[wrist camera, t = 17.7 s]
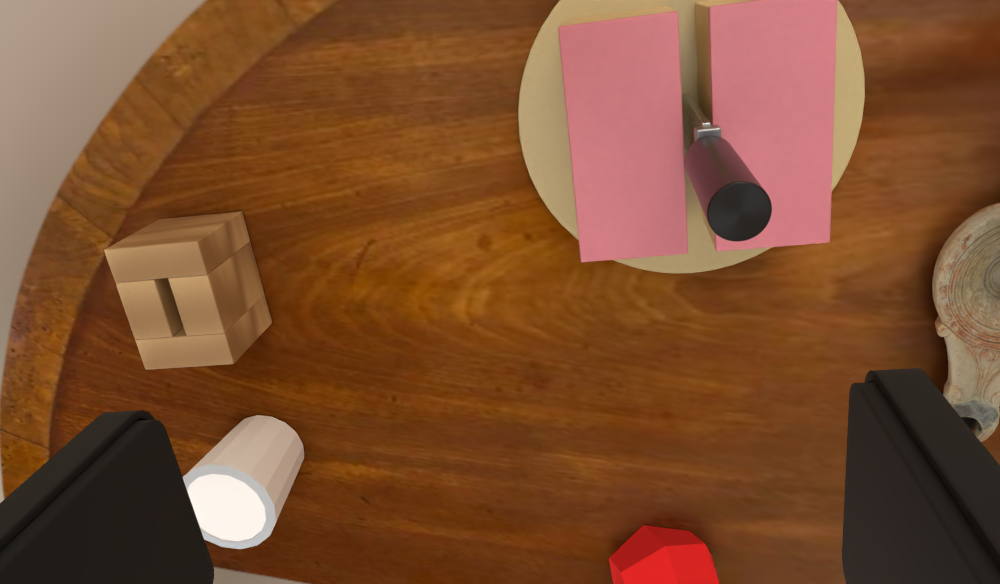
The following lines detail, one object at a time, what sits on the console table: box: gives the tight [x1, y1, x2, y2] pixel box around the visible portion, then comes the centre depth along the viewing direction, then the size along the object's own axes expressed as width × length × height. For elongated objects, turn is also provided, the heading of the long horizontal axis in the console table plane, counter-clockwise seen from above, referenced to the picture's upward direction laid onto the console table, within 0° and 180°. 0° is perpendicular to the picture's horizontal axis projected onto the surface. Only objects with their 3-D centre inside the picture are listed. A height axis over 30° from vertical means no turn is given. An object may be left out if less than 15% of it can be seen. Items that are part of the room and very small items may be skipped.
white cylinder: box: [183, 415, 304, 549], centre depth 53 cm, size 7×7×7 cm
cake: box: [518, 0, 865, 273], centre depth 40 cm, size 19×19×7 cm
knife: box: [682, 93, 772, 242], centre depth 35 cm, size 3×2×18 cm
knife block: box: [104, 211, 272, 370], centre depth 48 cm, size 8×6×6 cm
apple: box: [609, 525, 719, 584], centre depth 52 cm, size 7×7×8 cm
